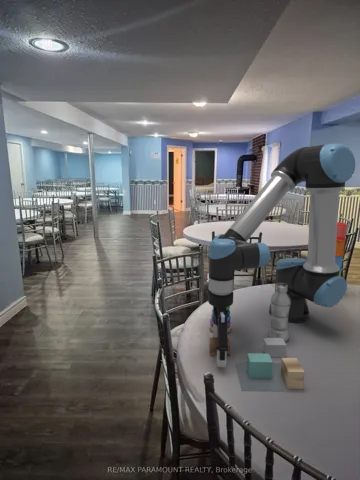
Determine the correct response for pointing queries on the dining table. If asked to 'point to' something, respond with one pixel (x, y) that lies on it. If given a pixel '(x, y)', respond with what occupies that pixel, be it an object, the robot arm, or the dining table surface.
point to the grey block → (274, 347)
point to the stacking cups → (340, 244)
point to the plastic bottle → (280, 312)
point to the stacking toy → (227, 320)
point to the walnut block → (214, 344)
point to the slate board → (263, 380)
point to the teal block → (259, 365)
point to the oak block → (292, 373)
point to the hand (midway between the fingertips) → (219, 354)
